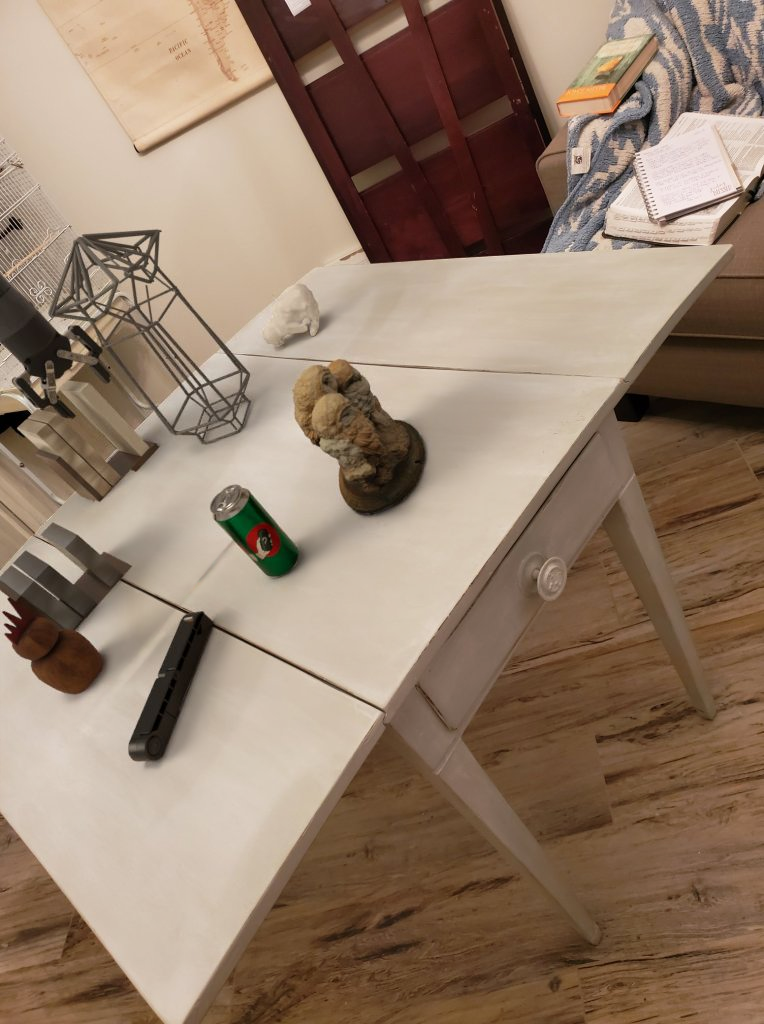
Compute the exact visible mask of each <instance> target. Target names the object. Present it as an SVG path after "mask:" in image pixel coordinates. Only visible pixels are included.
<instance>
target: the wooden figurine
mask: <svg viewBox="0 0 764 1024" xmlns="http://www.w3.org/2000/svg"><path fill="white" fill-rule="evenodd" d="M6 600H7V601H8V603H9V604H10V606H11V607H12V608H13V610H14V611H15V612H16V613H17V615H18V616H19V617H18V616H17V615H14V614H12V613H10V612H8V611H5V610H2V611H1V613H2V615H4V617H5V618H6V619H8V620H9V621H10V622H11V623H12V624H13V625H12V624H9V623H6V622H4V624H3V627H5V628H6V629H7V630H8V631H9V632H4V634H3V635H4V636H5V637H6V638H7V640H8V641H9V642H10V643H11V648H12V649H13V651H14V652H15V653H16V654H17V655H18V656H19V657H20V658H22V659H24V660H28V661H30V668H31V672H32V673H33V674H34V675H35V676H36V678H37V679H38V680H39V681H41V682H42V683H44V684H45V685H47V686H48V687H50V688H52V689H54V690H55V691H59V692H61V693H64V694H69V695H77V694H81V693H83V692H84V691H85V690H87V689H88V688H89V687H90V686H91V685H92V684H93V683H94V681H95V680H96V679H98V677H99V676H100V674H101V672H102V671H103V668H104V664H105V663H104V658H103V656H102V655H101V652H100V651H99V650H97V648H96V647H95V645H94V644H93V643H92V642H91V641H90V640H89V639H88V638H87V637H86V636H84V635H83V634H82V633H81V632H79V631H78V630H69V629H66V630H59V631H58V630H57V628H56V626H55V625H54V624H53V623H52V622H51V621H49V620H48V619H46V618H42V617H38V618H36V617H35V616H34V615H33V614H31V613H30V612H29V611H27V610H26V609H25V608H23V607H22V606H21V605H19V604H18V603H17V602H15V601H14V600H13V599H11V598H9V597H7V598H6Z"/></svg>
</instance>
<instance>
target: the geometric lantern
mask: <svg viewBox="0 0 764 1024" xmlns="http://www.w3.org/2000/svg"><path fill="white" fill-rule="evenodd" d="M162 232H163V231H162V229H156V228H155V229H144V230H143V229H141V230H129V231H128V230H127V231H126V230H125V231H112V232H97V233H83V234H81V236H78V237H76V238H75V239H73V241H72V247H71V250H70V252H69V255H68V257H67V261H66V263H65V266H64V269H63V271H62V274H61V277H60V280H59V282H58V284H57V288H56V290H55V293H54V296H53V298H52V301H51V304H50V307H49V308H48V312H47V314H48V316H49V317H50V319H53V318H61V319H67V320H68V319H69V320H75V321H83V322H89V324H90V325H91V327H92V328H93V329H94V332H95V334H96V336H97V338H98V341H99V343H100V347H101V348H102V349H104V350H105V351H106V352H107V353H108V355H109V356H110V357H111V358H112V360H113V361H114V362H115V363H116V364H117V366H118V367H119V368H120V369H121V371H122V372H123V373H124V375H125V376H126V377H127V378H128V379H129V380H130V382H131V383H132V384H133V386H134V387H135V388H136V389H137V390H138V391H139V393H140V394H141V396H142V397H143V399H144V400H145V401H146V403H147V404H148V405H149V406H150V408H151V409H152V410H153V412H154V413H155V414H156V416H157V417H158V419H159V420H160V421H161V423H162V424H163V425H164V427H165V428H166V429H167V430H168V432H169V433H170V434H171V435H173V436H174V437H175V436H196V438H197V439H198V441H200V444H202V445H208V444H211V443H214V442H217V441H219V440H222V439H225V438H227V437H230V436H232V435H233V436H234V435H235V434H239V433H240V432H241V430H242V429H243V428H244V426H245V423H246V420H247V416H248V414H249V410H250V406H251V403H252V400H251V399H249V397H248V396H247V395H246V394H245V393H246V390H247V387H248V384H249V381H250V378H251V373H250V371H249V370H248V369H247V367H245V365H243V363H242V362H241V361H240V360H239V358H237V356H236V355H235V354H234V353H233V352H232V350H231V349H229V347H228V346H227V345H226V343H224V341H223V340H222V339H221V338H220V337H219V336H218V335H217V334H216V332H214V330H213V329H212V328H211V327H210V325H209V324H208V323H207V322H206V321H205V320H204V319H203V318H202V316H201V315H200V314H199V313H198V312H197V311H196V310H195V308H194V307H193V306H192V305H191V303H190V302H189V301H188V300H187V298H186V297H185V296H184V295H183V294H182V292H181V290H180V289H179V288H178V286H177V285H175V283H173V281H172V280H171V279H170V278H169V276H168V275H166V274H165V273H164V271H163V270H162V269H161V268H160V266H159V251H160V234H161V233H162ZM131 237H132V238H133V237H142V238H140V239H139V240H138V241H136V242H135V243H134V244H133V245H132V244H125V243H121V242H120V243H119V242H113V241H107V240H110V239H120V238H131ZM148 239H149V241H148V245H147V248H146V251H145V252H143V250H142V249H141V247H140V246H141V245H142V244H144V242H146V241H147V240H148ZM153 247H154V256H152V255H151V252H152V249H153ZM80 248H81V249H80ZM91 249H93V250H95V251H97V252H99V253H100V254H102V256H104V257H105V258H102V259H101V258H99V256H97V255H96V254H95V253H94V251H93V250H91ZM81 250H82V251H83V253H84V254H85V255H86V257H87V258H88V260H89V263H91V264H90V265H89V266H88V267H86V264H85V262H84V259H83V256H82V252H81ZM133 255H134V256H139V257H140V258H138V260H136V261H135V263H133V262H132V260H131V259H130V257H131V256H133ZM153 257H154V258H153ZM115 260H116V261H115ZM149 260H150V262H151V263H152V264H153V270H152V272H151V271H150V270H148V268H147V266H148V265H149V264H150V263H149ZM117 261H118V262H121V263H122V264H125V265H127V266H128V267H127V266H121V265H120V264H118V263H117ZM108 262H111V263H113V264H110V263H108ZM94 266H96V267H99V268H100V269H101V270H102V271H103V273H104V274H106V276H107V277H108V278H109V279H110V280H111V281H112V283H111V284H109V285H108V286H106V287H105V288H103V289H102V290H101V291H99V292H98V293H97V294H94V291H93V286H92V282H91V278H90V273H89V270H90V269H91V268H92V267H94ZM70 268H71V269H70ZM111 269H114V270H119V271H122V272H123V276H124V277H123V278H121V280H120V279H119V278H118V277H117V276H116V275H115V274H114V273H113V272H112V271H111ZM69 270H70V273H71V274H70V285H69V287H70V289H69V295H68V296H67V297H66V298H64V299H63V300H62V301H60V302H59V299H60V296H61V293H62V289H63V287H64V283H65V281H66V278H67V275H68V273H69ZM139 270H141V271H142V273H144V275H145V276H146V277H147V278H145V277H141V276H138V275H135V273H134V272H135V271H136V272H137V271H139ZM157 273H159V275H160V276H161V277H162V278H163V279H164V280H165V281H166V282H167V283H168V284H169V285H168V284H167V283H165V282H164V281H163V280H162V279H161V278H159V277H157V276H156V275H157ZM128 279H130V282H131V288H132V296H133V297H132V298H133V303H134V305H132V307H130V308H129V309H128V310H124V309H120V308H117V307H115V306H112V303H113V301H114V297H115V295H116V292H117V289H118V286H119V284H122V283H123V282H125V281H126V280H128ZM155 279H156V280H157V281H158V282H159V283H160V284H162V285H163V286H165V288H167V289H166V290H165V291H161V292H160V293H157V294H155V295H154V296H151V297H150V294H149V287H148V284H152V283H154V282H155ZM135 281H138V282H141V283H145V286H144V287H145V294H146V299H144V300H142V301H141V302H138V297H137V295H138V294H137V287H136V282H135ZM80 290H82V292H83V293H84V294H85V296H86V297H85V298H82V299H81V291H80ZM108 292H110V294H109V296H108V300H107V302H106V304H104V303H102V302H98V301H97V300H99V299H100V298H101V297H103V296H104V295H106V294H107V293H108ZM171 292H174V294H173V295H172V298H171V299H170V300H169V302H168V303H167V305H166V307H165V308H164V310H163V311H162V312H161V314H160V315H159V317H158V318H157V320H153V314H152V307H151V302H152V301H153V300H155V299H157V298H159V297H162V296H163V295H167V294H168V293H171ZM177 297H178V298H179V299H180V301H181V302H182V303H183V304H184V305H185V306H186V308H188V310H189V311H190V312H191V314H193V315H194V317H195V318H196V319H197V320H198V322H199V323H200V325H202V327H203V328H204V329H205V331H207V333H208V334H209V335H210V337H211V338H212V339H213V340H214V341H215V343H216V344H217V345H218V346H219V348H220V349H221V351H223V352H224V354H225V355H226V356H227V358H228V359H229V360H230V361H231V363H232V365H234V366H235V367H236V369H237V370H235V371H232V372H230V373H227V374H224V375H223V376H222V375H221V376H219V377H217V378H215V379H212V380H210V379H209V377H207V376H206V374H205V373H204V372H203V371H202V370H201V369H200V367H199V366H198V365H197V364H196V363H195V362H194V361H193V359H192V358H191V357H190V356H189V355H188V354H187V353H186V352H185V350H184V349H183V348H182V347H181V346H180V345H179V343H178V342H177V341H176V340H175V339H174V338H173V337H172V335H170V333H169V332H168V331H167V330H166V328H164V326H163V325H162V324H161V323H160V322H161V321H162V319H163V318H164V316H165V315H166V313H167V312H168V310H169V309H170V307H171V305H172V304H173V303H174V301H175V300H176V298H177ZM71 300H72V301H73V302H72V303H70V304H67V303H69V302H70V301H71ZM58 302H59V303H58ZM86 303H87V304H86ZM146 303H147V307H148V314H149V318H148V316H147V315H146V314H145V312H143V310H141V308H140V307H141V306H142V305H144V304H146ZM66 304H67V305H66ZM83 304H86V305H84V306H82V305H83ZM92 306H94V308H96V309H97V310H98V311H99V312H101V313H100V314H98V315H96V316H95V317H91V316H90V314H89V313H88V311H87V310H89V309H90V308H91V307H92ZM100 306H101V307H104V310H103V308H101V307H100ZM139 306H140V307H139ZM111 309H112V310H113V311H117V312H120V313H123V314H122V315H119V314H117V313H114V312H112V311H110V310H111ZM135 310H136V311H137V312H138V313H139V315H140V316H141V318H142V319H143V320H144V321H145V322H146V323H147V324H148V325H147V326H146V325H145V324H141V323H139V322H137V321H136V320H135V319H134V317H133V316H132V314H131V313H133V312H134V311H135ZM74 313H81V314H82V315H83V316H80V315H73V314H74ZM107 315H108V316H110V317H113V318H115V319H118V321H117V323H116V324H115V326H114V327H113V328H112V330H111V331H110V333H108V336H106V338H105V337H104V335H103V334H102V332H101V331H100V330H99V328H98V327H97V325H96V323H97V322H99V321H100V320H101V319H103V318H104V317H106V316H107ZM126 316H127V317H126ZM122 321H123V322H125V323H128V324H130V325H133V326H134V327H135V329H136V330H137V332H134V333H132V334H130V335H127V336H125V337H122V338H120V339H118V340H116V341H113V342H111V343H108V342H109V341H110V339H111V337H112V336H113V334H114V333H115V332H116V330H117V329H118V327H119V326H120V325H121V323H122ZM156 327H157V328H159V330H160V331H161V332H160V331H159V330H158V329H157V328H156ZM151 329H152V331H153V332H154V333H155V334H156V335H157V337H158V338H159V339H160V340H161V342H162V343H163V344H164V346H165V347H166V348H167V349H168V350H169V352H170V353H171V354H172V355H173V356H174V358H175V359H176V360H177V361H178V362H179V364H180V365H181V366H182V367H183V369H184V370H185V371H186V372H187V374H188V375H189V376H190V377H191V378H192V380H193V381H194V382H195V383H196V385H197V387H196V386H195V385H194V384H193V382H192V381H191V380H190V379H189V377H188V376H187V375H186V374H185V372H184V371H183V370H182V369H181V367H180V366H179V365H178V364H177V362H176V361H175V360H174V359H173V357H172V356H171V355H170V354H169V353H168V352H167V350H166V349H165V348H164V346H163V345H162V344H161V343H160V342H159V340H158V339H157V338H156V337H155V336H154V334H153V333H152V332H151ZM161 333H162V334H164V336H165V337H166V338H167V340H169V341H170V343H171V344H172V345H173V346H174V347H175V348H176V349H177V350H178V352H179V353H180V355H182V356H183V357H184V359H186V361H187V362H188V363H189V364H190V365H191V366H192V368H193V369H194V370H195V371H196V372H197V373H198V374H199V376H200V377H201V378H202V379H203V380H204V382H205V383H201V382H200V380H198V378H197V377H196V376H195V375H194V373H193V372H192V371H191V370H190V368H189V367H188V366H187V364H186V363H185V362H184V361H183V360H182V358H181V357H180V356H179V355H178V353H177V352H176V351H175V350H174V349H173V347H172V346H171V345H170V344H169V343H168V341H167V340H166V339H165V337H164V336H163V335H162V334H161ZM139 335H141V337H142V338H143V339H144V341H145V342H146V343H147V344H148V346H149V347H150V349H151V350H152V351H153V353H154V354H155V355H156V357H157V358H158V359H159V361H160V362H161V363H162V365H163V366H164V368H165V369H166V370H167V372H168V373H169V374H170V375H171V377H172V378H173V379H174V381H175V383H177V385H178V386H179V388H180V389H181V390H182V392H183V393H184V394H185V396H186V397H185V399H184V401H183V403H182V404H181V407H180V408H179V410H178V413H177V414H176V417H175V418H174V420H173V422H172V424H171V423H170V422H169V421H168V419H167V418H166V417H165V415H163V413H162V412H161V410H159V408H158V407H157V405H156V404H155V403H154V402H153V401H152V400H151V398H150V397H149V396H148V394H147V393H146V392H145V391H144V389H143V388H142V387H141V385H140V384H139V383H138V381H137V380H136V379H135V377H134V376H133V375H132V373H131V372H130V370H129V369H128V368H127V367H126V365H125V364H124V363H123V362H122V360H121V359H120V357H119V356H118V355H117V353H116V352H115V351H114V349H113V348H112V346H115V345H117V344H120V343H122V342H124V341H127V340H129V339H132V338H134V337H136V336H139ZM147 335H148V336H149V337H150V339H151V340H152V341H153V343H154V344H155V345H156V347H158V349H159V350H160V351H161V352H162V354H163V355H164V356H165V358H166V359H167V360H168V361H169V363H170V364H171V365H172V366H173V367H174V368H175V370H176V371H177V372H178V373H179V375H180V376H181V377H182V378H183V380H184V381H185V382H186V383H187V384H188V386H189V387H190V389H192V390H191V391H190V392H188V391H187V389H186V387H185V386H184V385H183V383H182V382H181V380H180V379H179V377H178V376H177V375H176V374H175V372H174V371H173V370H172V369H171V367H170V366H169V365H168V363H167V362H166V360H165V359H164V358H163V356H162V355H161V354H160V352H159V351H158V350H157V348H156V347H155V345H154V344H153V343H152V342H151V340H150V339H149V337H148V336H147ZM238 374H239V389H238V390H237V392H233V393H232V394H230V395H226V396H224V395H223V394H222V392H221V391H220V390H219V389H218V388H217V387H216V386H215V384H216V383H218V382H221V381H224V380H225V379H228V378H231V377H234V376H236V375H238ZM243 374H245V377H244V379H243ZM208 386H210V388H211V389H212V390H213V391H214V392H215V394H216V395H217V396H218V397H219V398H220V399H217V400H216V401H214V402H211V403H210V402H209V400H208V397H207V395H206V392H205V390H204V388H205V387H208ZM200 391H201V392H200ZM194 394H195V395H196V396H197V397H198V398H199V400H200V401H201V402H202V403H203V404H201V403H200V402H199V401H197V399H195V398H194V397H193V395H194ZM233 397H234V399H233V401H232V403H231V402H230V401H229V400H228V399H230V398H233ZM189 400H191V401H193V402H194V403H195V404H196V405H198V406H199V407H201V408H202V411H201V414H200V416H199V419H198V421H197V425H195V426H192V427H187V428H186V429H182V430H176V429H175V427H176V426H177V424H178V422H179V420H180V418H181V416H182V414H183V412H184V410H185V408H186V406H187V404H188V403H189ZM221 402H223V403H224V404H225V405H226V406H225V407H222V408H220V409H217V410H215V409H214V407H213V406H214V405H216V404H219V403H221ZM244 403H247V406H246V409H245V412H244V416H243V418H242V422H241V421H240V419H239V418H238V416H237V415H238V412H239V410H240V406H241V404H244ZM235 407H236V408H235ZM225 410H226V411H225ZM208 411H209V412H210V413H211V414H210V413H209V412H208ZM223 411H225V412H224V413H223V414H222V415H221V417H220V416H219V413H221V412H223ZM231 412H232V414H231V415H232V418H231V419H230V420H229V419H226V418H227V417H228V415H230V413H231ZM205 414H206V415H207V417H208V420H207V422H204V423H202V420H203V418H204V415H205ZM213 417H214V418H215V419H213V420H212V418H213ZM234 421H236V423H238V425H239V428H238V427H237V426H236V425H235V424H234V423H233V422H234ZM221 422H223V423H221ZM218 423H220V424H218ZM214 424H215V426H212V427H210V426H211V425H214ZM216 424H217V425H216ZM229 424H230V426H231V427H232V428H233V429H234V430H235V431H232V432H229V433H227V434H224V435H221V436H219V437H216V438H215V437H214V438H213V439H210V440H207V441H206V440H205V438H206V435H207V433H208V432H210V431H214V430H216V429H218V428H222V427H223V426H227V425H229ZM203 428H205V429H204V430H202V431H199V430H200V429H203ZM193 431H194V432H193ZM198 431H199V432H198ZM201 435H202V436H201Z"/></svg>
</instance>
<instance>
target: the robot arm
mask: <svg viewBox="0 0 764 1024" xmlns="http://www.w3.org/2000/svg"><path fill="white" fill-rule="evenodd" d="M70 340H72V341H74V342H79V343H80V344H81V345H82V346H83V347H84V348H85V349H86V350H87V351H88V354H87V355H86V354H83V353H78V352H73V351H72V346H71V341H70ZM0 344H2V346H3V347H5V349H6V350H7V351H9V353H10V354H11V355H13V356H14V357H15V358H16V360H17V361H18V362H19V363H21V364H22V366H23V368H24V371H23V372H21V373H20V374H19V375H17V376H14V377H13V378H12V379H11V383H12V385H14V387H15V388H16V389H17V390H18V391H19V392H21V394H22V395H23V396H24V398H26V399H27V400H28V402H30V404H31V405H32V406H33V407H34V408H36V409H39V410H44V409H46V408H48V407H49V406H50V407H52V409H53V410H54V411H56V413H58V414H59V415H60V416H61V417H62V418H63V419H70V420H74V419H75V418H76V416H77V415H76V413H74V412H73V411H72V410H71V409H70V408H69V407H68V406H67V405H66V403H64V401H62V400H61V399H58V396H57V395H58V394H57V382H56V380H59V379H61V378H62V377H63V376H64V374H65V372H67V371H69V370H71V368H73V364H74V362H76V363H81V364H86V365H88V368H89V369H90V370H91V371H92V372H93V374H94V375H95V376H96V377H97V378H98V379H99V380H100V381H101V383H103V384H110V383H111V381H112V380H111V373H110V372H109V371H108V370H107V369H106V368H105V367H104V365H102V364H101V363H100V361H99V358H100V355H102V354H103V348H102V346H101V345H99V344H98V343H97V341H95V339H93V337H91V336H90V335H89V334H88V332H86V331H85V330H84V329H83V328H82V327H81V326H80V325H77V324H70V325H68V326H67V331H65V333H64V334H62V333H60V332H59V331H58V330H57V329H56V328H55V327H54V326H53V325H52V324H51V322H50V321H49V320H48V319H47V318H46V317H45V316H44V315H43V314H42V313H41V312H40V311H39V310H38V309H37V308H36V305H34V303H33V302H32V301H30V300H29V299H28V298H27V297H26V296H25V295H24V294H23V293H22V292H20V291H19V290H18V289H17V288H16V287H15V286H14V285H12V284H11V282H10V281H9V280H8V279H7V278H6V277H5V276H4V275H3V274H2V273H1V272H0ZM31 377H34V378H35V377H36V378H39V382H40V388H41V389H42V395H43V397H41V396H40V395H39V394H38V393H37V392H36V391H35V390H34V388H33V387H32V385H33V382H32V380H31Z"/></svg>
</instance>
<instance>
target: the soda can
mask: <svg viewBox="0 0 764 1024" xmlns="http://www.w3.org/2000/svg"><path fill="white" fill-rule="evenodd" d="M209 510H210V512H211V513H212V518H213V521H215V523H216V524H217V525H218V526H219V527H221V529H222V530H223V531H224V532H225V534H227V536H229V537H230V538H231V539H232V541H233V542H234V543H236V545H237V546H238V547H239V548H240V549H241V550H242V551H243V552H244V554H246V556H248V557H249V559H250V560H251V561H252V562H253V563H254V564H255V565H256V566H257V567H258V569H260V570H261V571H262V572H263V573H264V575H265V576H267V577H270V578H278V577H282V575H283V576H285V575H287V574H288V573H289V572H291V570H293V568H295V566H296V565H297V563H298V560H299V557H300V549H299V547H298V546H297V545H296V543H294V541H293V540H292V539H291V538H290V536H289V535H288V534H287V533H286V531H284V530H283V528H282V527H281V526H280V525H279V523H277V521H276V519H274V518H273V517H272V515H270V513H269V512H268V511H267V510H266V508H264V506H263V505H262V504H261V503H260V502H259V500H258V499H257V498H256V497H255V496H254V495H253V493H252V492H251V491H250V490H249V489H248V488H246V487H242V486H241V485H240V484H231V485H228V486H225V488H222V489H221V490H220V491H219V492H217V493H216V495H215V496H214V497H213V498H212V500H211V502H210V505H209ZM296 562H297V563H296ZM295 564H296V565H295ZM294 565H295V566H294ZM287 572H288V573H287ZM284 574H285V575H284Z"/></svg>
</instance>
